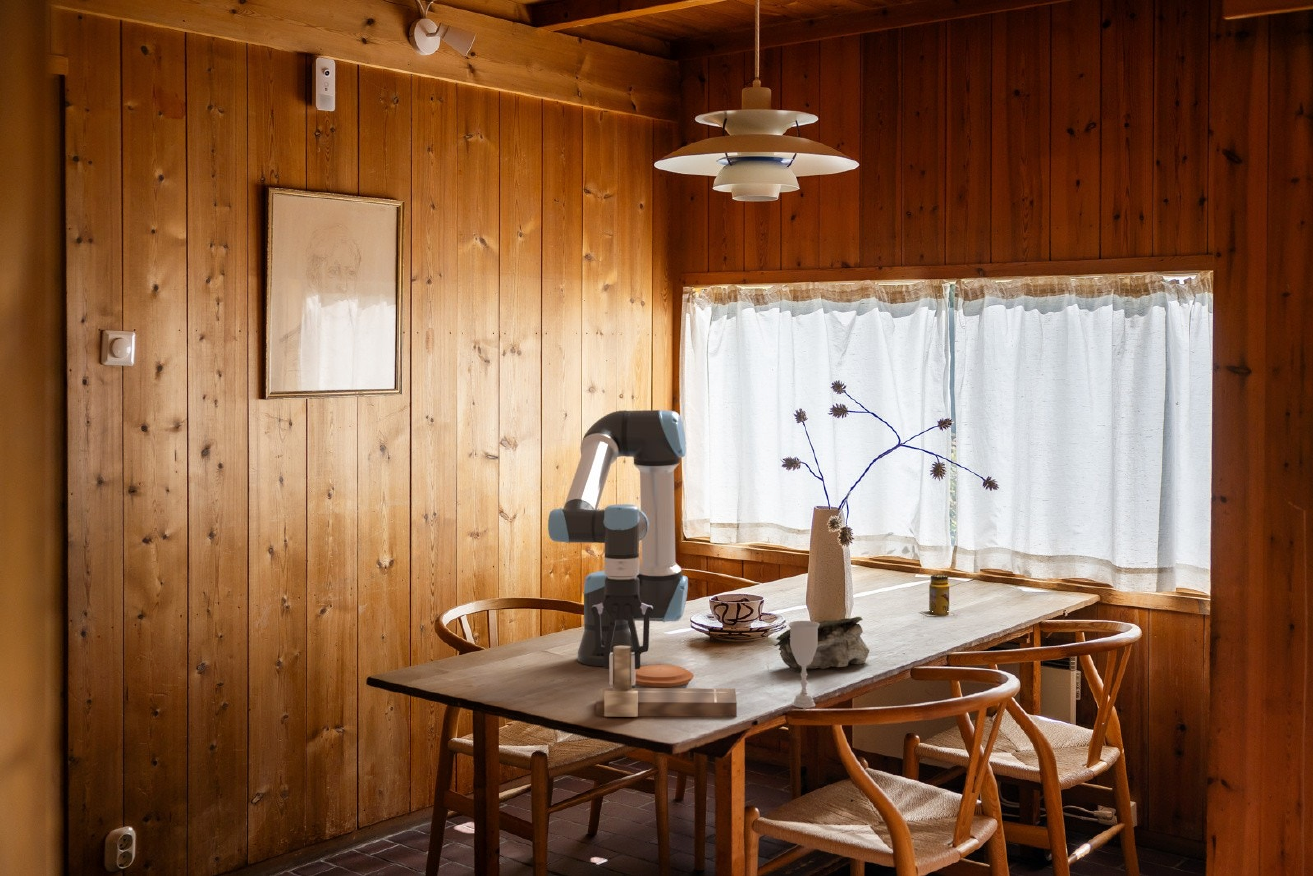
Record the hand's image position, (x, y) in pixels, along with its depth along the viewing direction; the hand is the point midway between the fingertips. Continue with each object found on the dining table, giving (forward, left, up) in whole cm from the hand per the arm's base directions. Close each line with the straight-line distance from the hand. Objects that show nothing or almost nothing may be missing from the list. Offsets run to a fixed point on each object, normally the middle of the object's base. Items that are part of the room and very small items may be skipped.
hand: (622, 683), depth 262 cm
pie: (-11, +17, -7) cm, 22 cm away
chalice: (+18, +36, -6) cm, 41 cm away
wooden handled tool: (0, 0, -6) cm, 6 cm away
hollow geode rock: (-8, +63, -7) cm, 64 cm away
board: (+4, +9, -6) cm, 12 cm away
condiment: (-42, +139, -6) cm, 146 cm away
